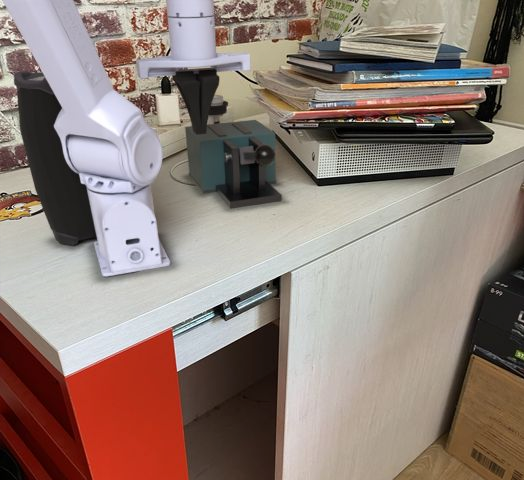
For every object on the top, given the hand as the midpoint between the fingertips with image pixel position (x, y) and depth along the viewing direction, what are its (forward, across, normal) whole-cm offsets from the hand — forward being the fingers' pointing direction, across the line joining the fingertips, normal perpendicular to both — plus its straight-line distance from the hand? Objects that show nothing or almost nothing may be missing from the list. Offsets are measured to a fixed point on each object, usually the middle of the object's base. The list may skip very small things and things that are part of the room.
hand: (199, 132), depth 74 cm
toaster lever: (+5, -7, +3) cm, 9 cm away
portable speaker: (+11, +18, +4) cm, 21 cm away
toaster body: (+10, -7, -9) cm, 15 cm away
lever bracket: (+10, -7, -2) cm, 13 cm away
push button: (+11, -9, -24) cm, 28 cm away
